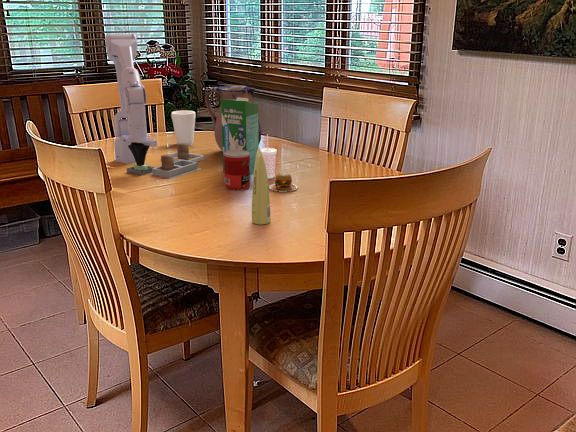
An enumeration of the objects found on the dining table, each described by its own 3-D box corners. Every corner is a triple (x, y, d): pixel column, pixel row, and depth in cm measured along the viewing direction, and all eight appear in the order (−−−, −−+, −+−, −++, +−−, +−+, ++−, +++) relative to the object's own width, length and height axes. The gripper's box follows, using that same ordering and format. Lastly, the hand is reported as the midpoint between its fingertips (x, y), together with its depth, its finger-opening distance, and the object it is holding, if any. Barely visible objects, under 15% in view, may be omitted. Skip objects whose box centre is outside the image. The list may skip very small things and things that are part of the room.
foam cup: (169, 145, 232) (167, 113, 228) (179, 141, 240) (177, 109, 236) (190, 147, 230) (188, 115, 225) (200, 142, 238) (199, 111, 233)
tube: (245, 221, 151) (244, 148, 144) (259, 216, 154) (258, 145, 148) (261, 226, 147) (261, 152, 141) (275, 221, 151) (274, 148, 144)
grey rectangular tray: (148, 176, 190) (148, 168, 189) (180, 167, 202) (179, 158, 200) (171, 181, 185) (170, 172, 184) (202, 171, 196) (201, 162, 195)
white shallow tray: (161, 162, 208) (161, 156, 207) (179, 156, 215) (179, 151, 215) (187, 167, 201) (187, 161, 201) (205, 161, 209) (205, 155, 208)
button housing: (127, 175, 191) (126, 168, 190) (141, 171, 196) (141, 164, 195) (141, 178, 188) (140, 171, 187) (155, 174, 193) (154, 167, 192)
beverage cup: (260, 179, 188) (260, 137, 183) (256, 174, 193) (256, 133, 188) (278, 178, 189) (279, 136, 184) (274, 173, 195) (274, 132, 190)
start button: (131, 174, 191) (130, 165, 190) (141, 171, 195) (140, 162, 194) (141, 176, 189) (140, 167, 188) (150, 173, 193) (150, 164, 192)
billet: (175, 160, 208) (174, 144, 205) (183, 158, 211) (182, 142, 209) (183, 162, 205) (182, 145, 203) (191, 159, 209) (190, 143, 207)
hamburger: (260, 194, 175) (259, 177, 173) (268, 183, 186) (268, 167, 184) (299, 197, 173) (299, 179, 171) (305, 185, 184) (305, 169, 182)
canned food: (246, 191, 176) (246, 156, 172) (221, 189, 177) (220, 154, 173) (253, 184, 183) (252, 150, 179) (228, 182, 184) (227, 149, 180)
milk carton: (259, 170, 199) (258, 96, 190) (246, 176, 191) (245, 100, 183) (236, 166, 202) (234, 94, 194) (223, 173, 195) (220, 98, 186)
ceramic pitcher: (259, 159, 212) (259, 90, 204) (202, 158, 213) (199, 90, 204) (262, 148, 229) (262, 84, 220) (209, 147, 229) (207, 83, 221)
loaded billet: (159, 174, 189) (158, 156, 187) (168, 171, 193) (167, 153, 190) (168, 175, 187) (167, 157, 185) (177, 173, 190) (176, 155, 188)
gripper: (112, 124, 187) (116, 164, 191) (144, 129, 179) (147, 171, 184) (128, 120, 192) (132, 160, 197) (160, 125, 185) (163, 166, 190)
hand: (140, 165), depth 191 cm, fingers closed, pressing on start button
